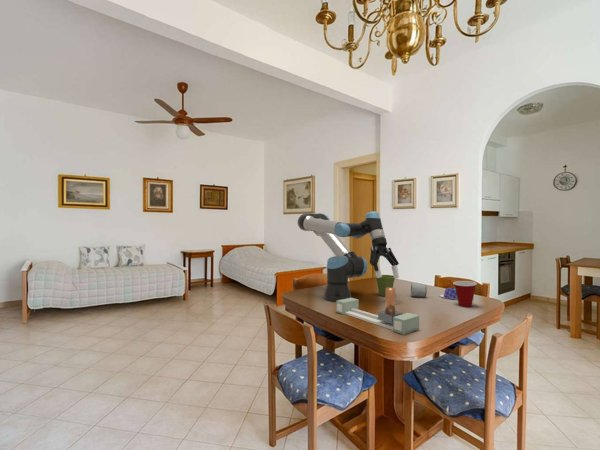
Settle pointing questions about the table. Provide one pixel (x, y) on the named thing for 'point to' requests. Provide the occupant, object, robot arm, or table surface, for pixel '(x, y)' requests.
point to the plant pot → (384, 283)
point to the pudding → (450, 293)
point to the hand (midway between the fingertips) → (388, 277)
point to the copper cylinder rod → (389, 306)
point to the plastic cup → (465, 292)
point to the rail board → (400, 323)
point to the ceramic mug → (418, 290)
